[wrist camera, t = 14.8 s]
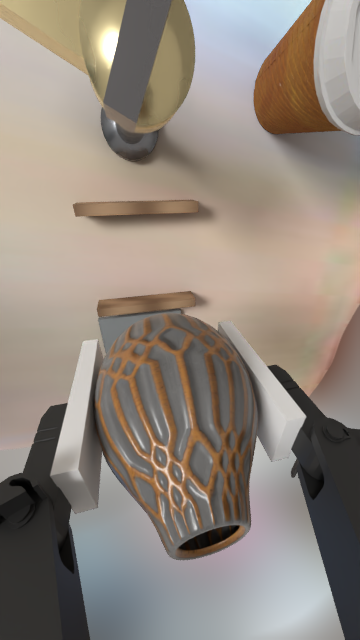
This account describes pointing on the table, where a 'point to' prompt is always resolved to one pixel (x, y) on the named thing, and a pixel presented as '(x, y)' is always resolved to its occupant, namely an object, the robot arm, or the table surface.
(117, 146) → the post
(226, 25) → the table surface
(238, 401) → the vase
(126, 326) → the mat
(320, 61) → the disposable coffee cup
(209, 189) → the table surface
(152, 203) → the cradle
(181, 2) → the latch
